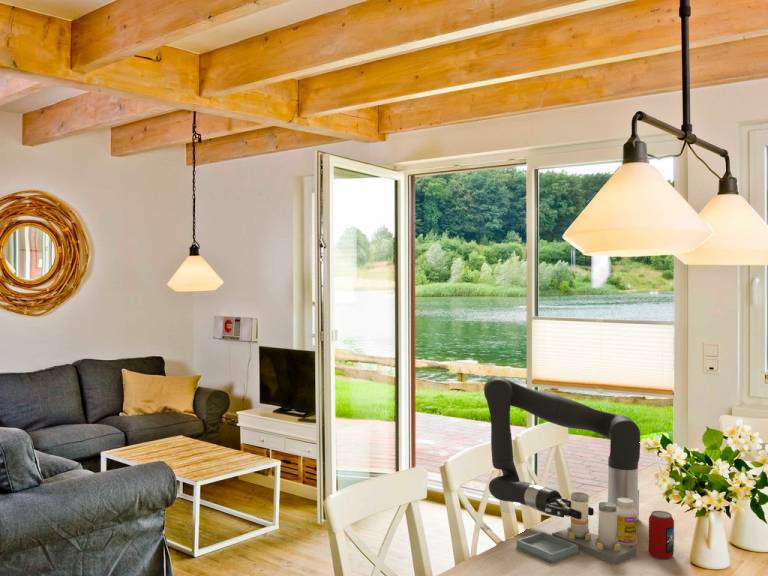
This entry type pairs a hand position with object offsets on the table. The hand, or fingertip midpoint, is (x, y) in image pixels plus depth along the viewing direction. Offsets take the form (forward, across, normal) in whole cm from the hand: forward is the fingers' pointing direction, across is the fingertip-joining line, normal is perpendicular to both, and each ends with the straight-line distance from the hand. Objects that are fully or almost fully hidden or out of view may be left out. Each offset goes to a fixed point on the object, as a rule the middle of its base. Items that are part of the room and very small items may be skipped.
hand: (586, 513), depth 215 cm
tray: (-4, -13, +9) cm, 16 cm away
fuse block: (+2, 0, +9) cm, 10 cm away
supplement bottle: (+5, +11, +10) cm, 15 cm away
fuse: (+7, 0, +7) cm, 10 cm away
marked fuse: (-3, 0, +7) cm, 7 cm away
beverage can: (+17, +11, +10) cm, 23 cm away
